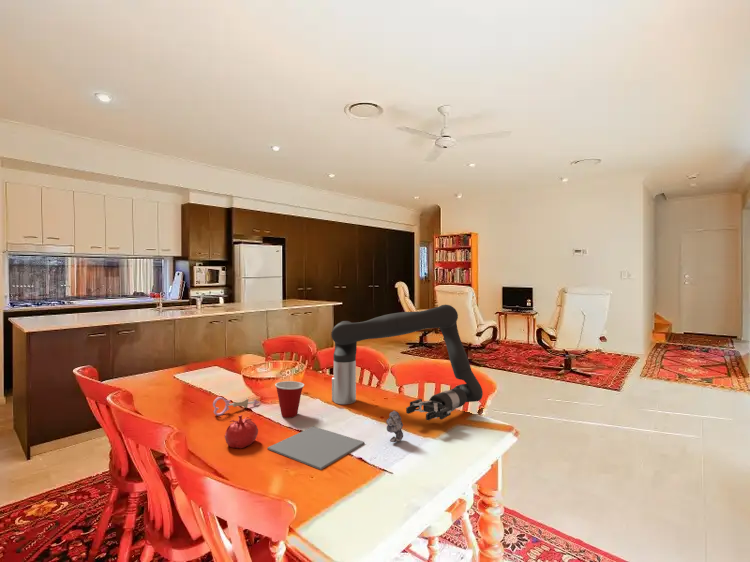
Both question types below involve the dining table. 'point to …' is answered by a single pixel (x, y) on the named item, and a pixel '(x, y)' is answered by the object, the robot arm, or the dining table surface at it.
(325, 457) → the mat
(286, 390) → the plastic cup
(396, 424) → the grey tall lumpy piece
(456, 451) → the dining table surface
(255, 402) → the decorative key
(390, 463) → the dining table surface
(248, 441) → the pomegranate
